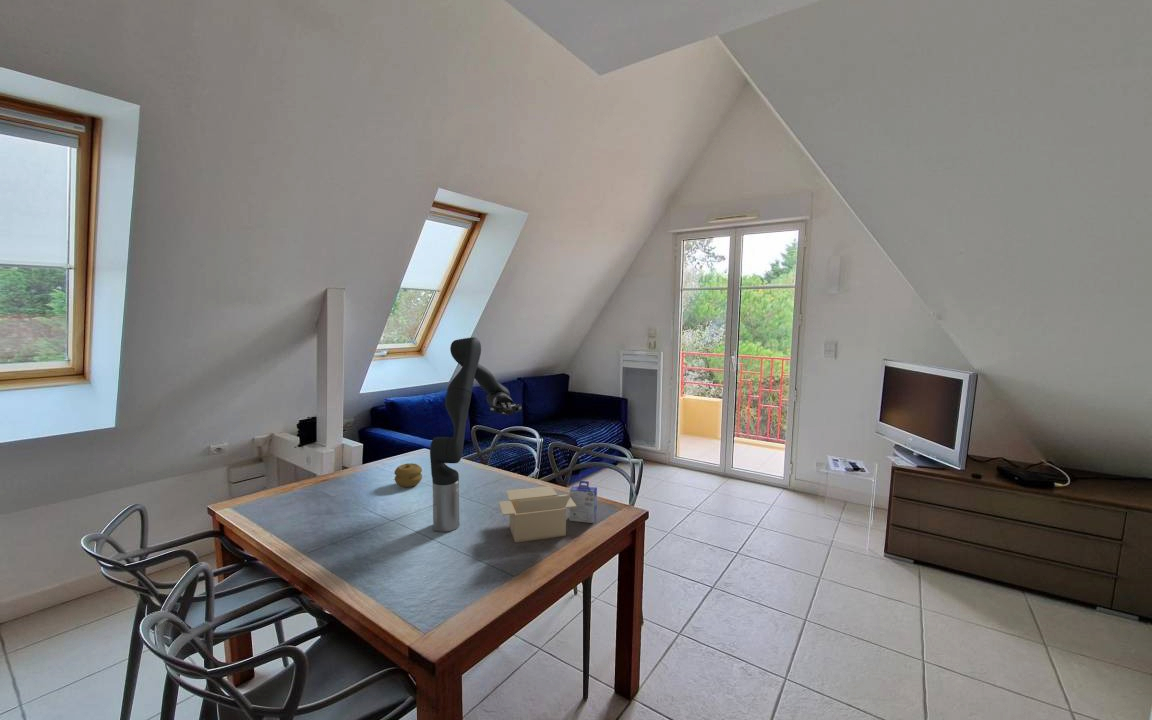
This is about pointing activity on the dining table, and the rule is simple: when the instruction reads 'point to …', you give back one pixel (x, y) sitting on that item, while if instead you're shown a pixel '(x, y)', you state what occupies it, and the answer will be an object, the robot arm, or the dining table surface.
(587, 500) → the ink cartridge box
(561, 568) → the dining table surface
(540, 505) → the far flap
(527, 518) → the carton
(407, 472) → the stacked bagel
